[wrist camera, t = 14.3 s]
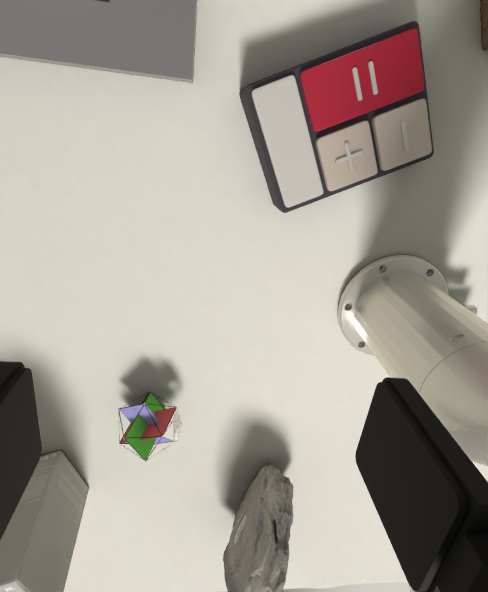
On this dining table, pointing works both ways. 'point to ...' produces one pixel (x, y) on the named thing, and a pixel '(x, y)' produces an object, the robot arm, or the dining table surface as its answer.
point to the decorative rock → (261, 535)
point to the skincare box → (43, 528)
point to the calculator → (341, 118)
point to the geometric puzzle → (149, 425)
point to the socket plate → (103, 35)
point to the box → (484, 23)
